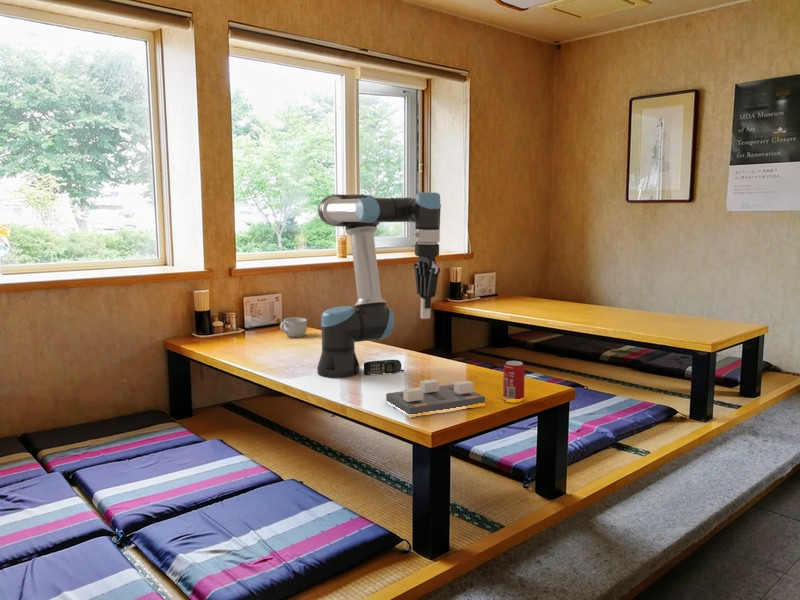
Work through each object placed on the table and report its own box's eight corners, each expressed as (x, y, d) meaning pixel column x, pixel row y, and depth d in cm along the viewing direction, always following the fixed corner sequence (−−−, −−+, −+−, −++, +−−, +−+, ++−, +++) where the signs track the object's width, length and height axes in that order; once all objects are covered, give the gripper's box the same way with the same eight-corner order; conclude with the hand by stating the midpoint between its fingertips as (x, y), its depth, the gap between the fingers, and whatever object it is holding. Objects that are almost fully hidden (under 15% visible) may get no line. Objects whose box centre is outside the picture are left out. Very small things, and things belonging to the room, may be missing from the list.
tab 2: (420, 390, 197) (420, 381, 197) (434, 388, 199) (434, 379, 199) (424, 393, 194) (424, 383, 194) (439, 391, 197) (439, 381, 196)
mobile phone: (364, 363, 227) (405, 359, 231) (362, 361, 230) (402, 357, 234) (364, 377, 228) (405, 372, 232) (363, 374, 231) (403, 370, 235)
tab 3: (453, 391, 196) (453, 382, 195) (467, 389, 198) (467, 380, 197) (458, 394, 193) (458, 384, 193) (473, 392, 195) (473, 382, 195)
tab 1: (403, 399, 188) (403, 389, 188) (418, 397, 190) (418, 387, 190) (407, 401, 186) (407, 391, 185) (423, 399, 188) (423, 389, 187)
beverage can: (527, 400, 198) (528, 362, 197) (516, 405, 194) (517, 366, 192) (510, 396, 202) (511, 359, 201) (498, 401, 198) (499, 362, 196)
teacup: (299, 333, 306) (299, 316, 305) (311, 336, 298) (311, 319, 297) (273, 336, 297) (272, 319, 296) (285, 340, 289) (284, 322, 288)
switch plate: (386, 403, 196) (386, 393, 195) (457, 392, 207) (457, 383, 206) (409, 418, 182) (409, 407, 181) (484, 406, 192) (485, 396, 192)
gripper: (406, 241, 203) (405, 315, 207) (426, 245, 192) (424, 323, 196) (427, 241, 206) (425, 313, 210) (448, 244, 195) (446, 321, 199)
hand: (425, 318), depth 203 cm, fingers closed
